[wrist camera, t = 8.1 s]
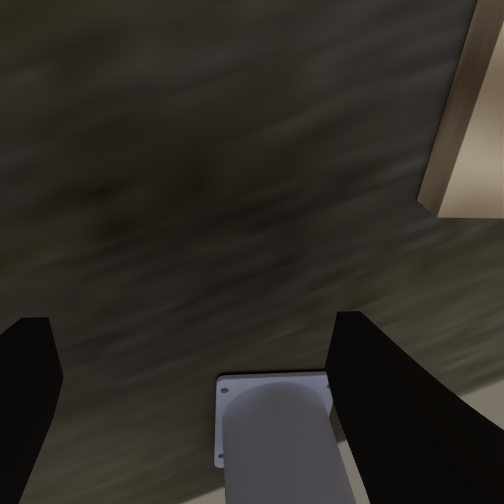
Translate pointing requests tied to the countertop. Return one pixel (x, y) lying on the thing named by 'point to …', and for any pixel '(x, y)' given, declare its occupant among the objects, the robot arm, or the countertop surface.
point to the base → (472, 127)
